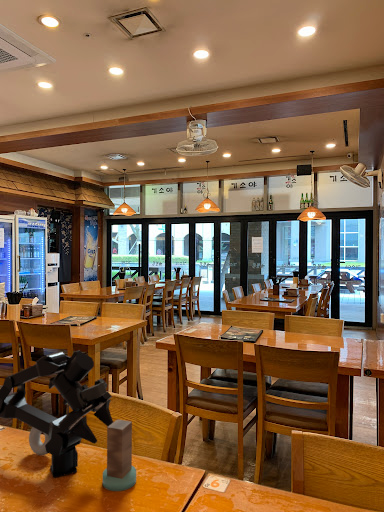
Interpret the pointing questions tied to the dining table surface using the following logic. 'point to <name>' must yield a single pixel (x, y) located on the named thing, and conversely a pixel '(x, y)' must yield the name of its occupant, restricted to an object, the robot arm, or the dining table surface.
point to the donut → (37, 442)
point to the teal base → (119, 481)
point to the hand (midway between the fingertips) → (105, 435)
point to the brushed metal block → (119, 448)
